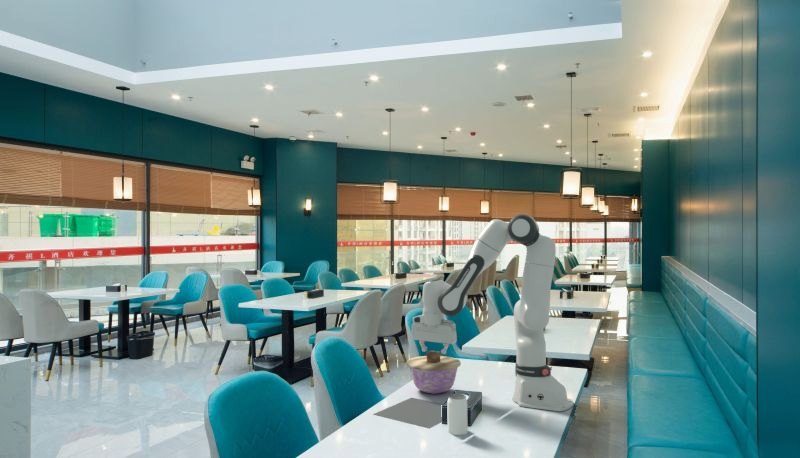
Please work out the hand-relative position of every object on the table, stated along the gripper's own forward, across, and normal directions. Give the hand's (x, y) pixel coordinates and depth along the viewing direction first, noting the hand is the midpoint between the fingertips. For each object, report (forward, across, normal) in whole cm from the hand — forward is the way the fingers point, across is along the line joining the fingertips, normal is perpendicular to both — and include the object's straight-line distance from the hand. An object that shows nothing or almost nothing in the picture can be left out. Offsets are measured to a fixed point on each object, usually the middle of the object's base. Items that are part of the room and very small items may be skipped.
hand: (434, 352), depth 223 cm
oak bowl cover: (+5, 0, 0) cm, 5 cm away
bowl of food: (+16, 0, 0) cm, 16 cm away
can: (+16, -31, +34) cm, 49 cm away
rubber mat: (+16, -10, +25) cm, 31 cm away
